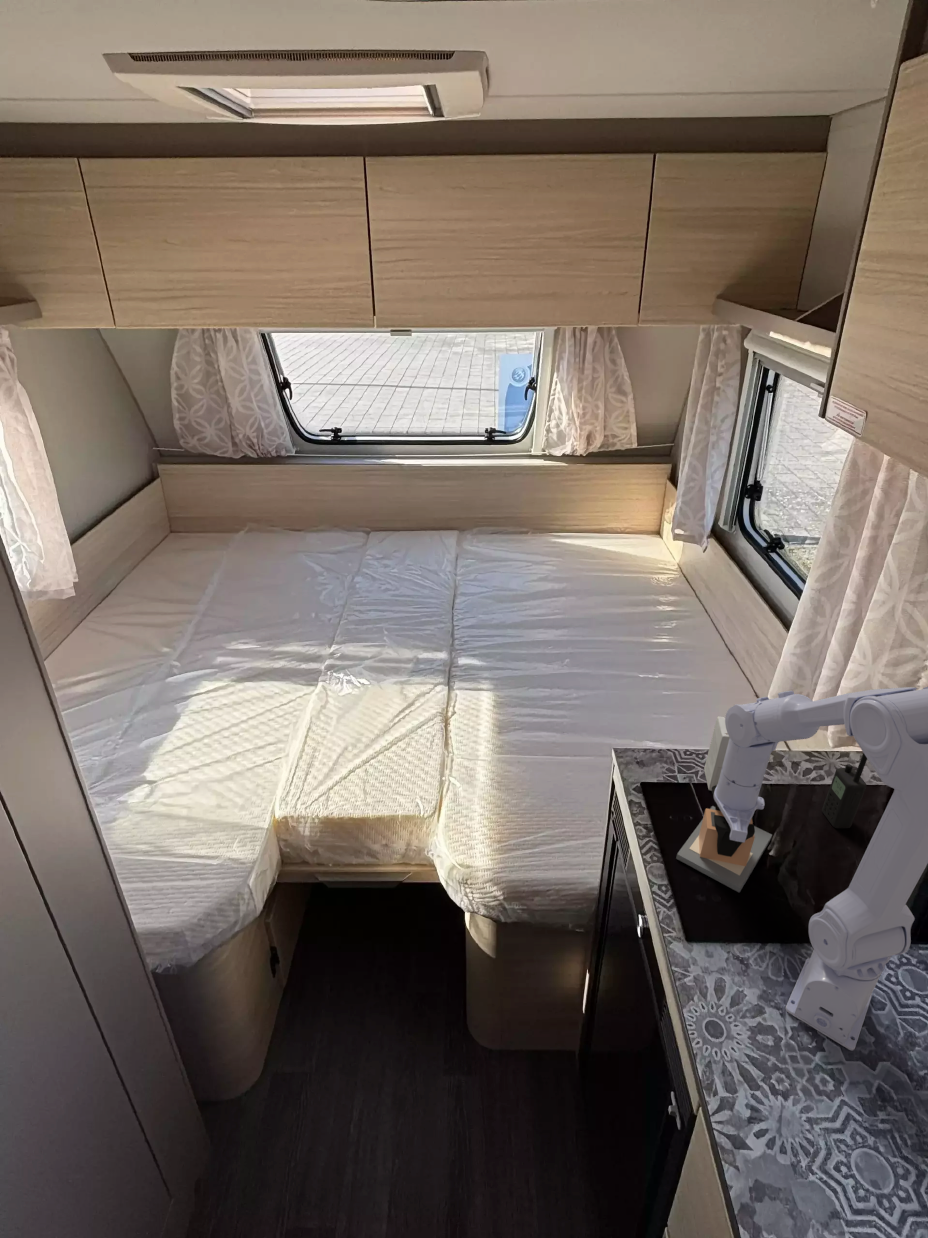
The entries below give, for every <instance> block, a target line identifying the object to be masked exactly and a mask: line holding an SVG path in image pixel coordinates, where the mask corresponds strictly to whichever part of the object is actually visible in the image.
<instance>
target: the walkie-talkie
mask: <svg viewBox="0 0 928 1238" xmlns="http://www.w3.org/2000/svg"><path fill="white" fill-rule="evenodd" d="M867 761H868V759H867V757H866V756H865V754H864V753H863V752H862V755H861V758H860V761H859V764H858V766H857V767H856V770H855V769H854V767H853V765H852V764H849V763H847V764H846V765H845V767H838V768H836V769H835V772H834V775H833V778H832V779H831V782H830V786H829V789H828V791H827V794H826V797H825V800H824V802H823V806H822V808H821V813H822V814H823V815H824V816H825V818H826V819H827V821H828V822H829V824H831V825H832V827H834V829H850V828H851V827H852V825H853V822H854V819H855V817H856V814H857V812H858V809H859V807H860V804H861V801H862V799H863V796H864V793H865V791H866V788H867V782H866V781H865V780H864V779H863V778H862V777H861V776H862V775H863V771H864V769H865V766H866V764H867Z"/></svg>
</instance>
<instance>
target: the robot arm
mask: <svg viewBox="0 0 928 1238" xmlns="http://www.w3.org/2000/svg"><path fill="white" fill-rule="evenodd" d="M777 696H778V697H774V698H769V697H768V696H763V697H758V698H756V702H750V703H743V704H733V706H730V707H729V708H728V709H727V710H726V713H725V716H724V717H725V725H726V730H727V733H728V735H729V737H730V739H729V743H728V746H727V750H726V754H725V758H724V762H723V766H722V770H721V774H720V778H719V782H718V785H715V786H713V787H712V791H711V796H712V798H713V801H714V805H715V806H714V807H715V810H718V811H721V812H722V814H723V815H724V816H719V815H714V824H715V828H716V831H717V833H718V837H717V852H718V854H719V855H724V856H729V857H732V855H733V854H734V853H735V852H736V850H737V849H738V847H739V846H740V845H741V844H742V843H743V842H744V843H745V840H747V839H749V838H751V837H753V835H754V833H755V828H754V826H755V825H754V824H749V823H750V821H751V819H752V820H753V816H754V814H755V811H756V810H764V808H765V804H766V803H765V799H764V798H763V797H761V796H759V795H760V792H761V791H760V790H761V788H762V785H763V782H764V778H765V774H766V771H767V767H768V765H769V761H770V757H771V753H773V751H776V749H777V746H778V744H779V743H780V742H781V743H782V742H790V741H797V740H807V739H810V738H812V737H813V736H815V735H816V734H817V732H818V731H819V729H820V728H821V727H829V726H841V725H842V726H843V725H844V728H845V731H846V732H845V733H846V735H847V736H848V737H853V738H854V739H855V742H856V744H857V745H858V746H859V748H860V749H861V751H862V754H863V753H864V754H865V756H866V757H867V761H868V762H869V763H870V765H871V767H872V768H873V769H874V771H875V772H876V774H877V775H878V777H879V779H880V780H881V782H882V784H884V785H886V786H887V787H889V788H892V789H894V790H893V793H892V795H891V797H890V799H889V801H888V803H887V805H886V807H885V810H884V812H883V814H882V815H881V818H880V820H879V822H878V824H877V826H876V829H875V830H874V833H873V835H872V837H871V839H870V841H869V843H868V845H867V848H866V849H865V852H864V854H863V856H862V858H861V861H860V862H859V865H858V867H857V869H856V870H855V873H854V875H853V877H852V878H851V879H852V880H851V881H850V883H849V886H848V887H847V888H846V889H845V890H843V891H842V892H840V893H839V894H837V895H836V896H834V897H833V898H831V899H829V901H827V902H826V903H825V904H824V906H823V908H822V910H821V911H819V912H817V913H814V914H813V915H812V916H811V917H810V919H809V921H808V937H809V942H810V943H811V946H812V948H813V951H812V953H811V955H810V957H808V958H806V959H805V962H804V964H803V966H802V968H801V972H800V974H799V975H798V978H797V980H796V983H795V985H794V988H793V989H792V991H791V994H790V997H789V999H788V1001H787V1004H786V1006H785V1010H786V1012H788V1014H790V1015H792V1017H793V1016H794V1017H795V1018H796V1019H798V1020H800V1021H801V1022H803V1023H804V1024H806V1025H808V1026H810V1027H811V1028H813V1029H815V1030H817V1031H818V1032H819V1033H821V1034H823V1035H825V1036H826V1037H828V1038H829V1039H831V1040H833V1041H834V1042H836V1043H837V1044H839V1045H841V1046H842V1047H845V1048H846V1049H847V1050H849V1051H854V1050H855V1048H856V1046H857V1042H858V1040H859V1036H860V1033H861V1031H862V1027H863V1024H864V1021H865V1018H866V1015H867V1012H868V1009H869V1006H870V1003H871V999H872V997H873V991H874V990H875V988H876V986H877V983H878V981H879V979H880V977H881V975H882V974H883V971H884V969H885V968H886V964H887V963H889V962H890V960H891V958H892V956H899V955H900V956H901V955H903V954H905V953H907V951H908V950H909V949H910V947H911V942H912V940H911V936H912V935H911V929H912V926H913V923H914V921H915V919H916V918H915V916H914V915H913V913H912V911H911V910H910V908H909V907H908V905H907V902H908V900H909V899H910V897H911V895H912V893H913V891H914V890H915V887H916V885H917V884H918V883H919V880H920V878H921V877H922V875H923V873H924V871H925V869H926V868H927V866H928V686H925V687H923V688H921V689H918V688H917V687H913V686H912V687H911V686H909V687H908V686H907V687H906V686H905V687H891V688H877V689H876V688H875V689H867V690H866V689H865V690H860V691H854V692H853V691H852V692H849V693H848V692H847V693H844V694H838V695H835V696H830V697H826V698H822V699H818V700H813V699H812V698H810V697H808V696H807V695H805V694H800V693H794V690H788V691H787V690H786V691H781V692H778V693H777Z"/></svg>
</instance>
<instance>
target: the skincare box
mask: <svg viewBox="0 0 928 1238" xmlns="http://www.w3.org/2000/svg"><path fill="white" fill-rule="evenodd" d="M725 717H726V716H719V715H718V716H717V717H716V720H715V725H714V728H713V731H712V737H711V741H710V743H709V748H708V752H707V757H706V759H705V765H704V769H703V770H704V774H705V779H706V784H707V788H708V791H711V792H712V787H713V786H715V785H718V782H719V778H720V774H721V770H722V766H723V762H724V758H725V754H726V750H727V746H728V743H729V739H730V737H729V735H728V733H727V730H726V725H725Z"/></svg>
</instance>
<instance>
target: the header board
mask: <svg viewBox="0 0 928 1238" xmlns="http://www.w3.org/2000/svg"><path fill="white" fill-rule="evenodd" d="M709 809H712V810H715V806H714V805H712V806H710V808H709ZM702 821H703V818H702V819H701V820H700V822H699V824H698V825H697V826H696V828H695V829H694V830H693V832H692V833H691V834H690V836H689V837H688V839H687V840H686V841H685V842H684V844H683V845H682V846H681V848H680V849H679V851H678V852H677V854H676V858H675V859H676V860H678V861H679V862H682V863H684V864H686V865H687V866H689V867H691V868H693V869H695V870H696V871H698V872H700V873H702V874H704V875H706V876H708V877H710V878H711V879H713V880H715V881H717V882H719V883H721V884H722V885H724V886H726V887H728V888H730V889H731V890H733V891H735V892H737V893H741V891H742V889H743V887H744V885H746V882H747V881H748V880H749V877H750V875H751V874H752V873H753V870H754V868H755V867H756V866H757V864H758V863H759V860H760V859H761V857H762V855H763V853H764V852H765V850H766V849H767V847H768V845H769V844H770V842H771V840H772V837H773V834H772V833H769V832H768V831H765V830H764V829H762V828H759V827H757V826H756V825H754V828H755V833H754V836H755V838H754V842H753V845H752V848H751V852H750V855H749V858H748V861H747V865H746V866H742V865H737V864H732V863H727V862H722V861H717V860H712V859H708V858H703V857H700V852H699V833H700V829H701V825H702Z"/></svg>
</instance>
